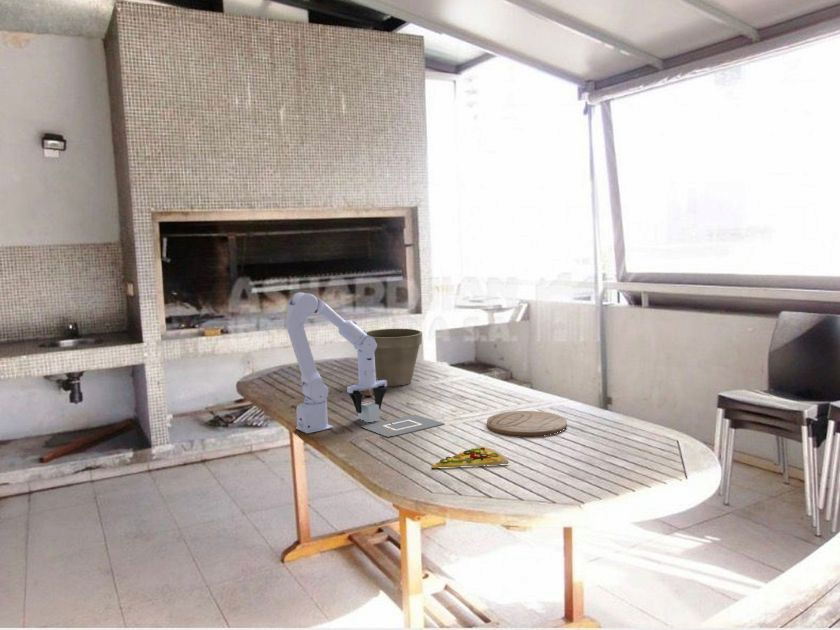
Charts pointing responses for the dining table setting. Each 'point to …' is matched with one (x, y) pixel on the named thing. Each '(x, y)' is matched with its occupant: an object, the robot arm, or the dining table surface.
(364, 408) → the card box
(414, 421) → the mat
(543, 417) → the trivet
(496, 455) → the pizza slice
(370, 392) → the bread slice
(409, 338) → the plant pot
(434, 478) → the dining table surface
